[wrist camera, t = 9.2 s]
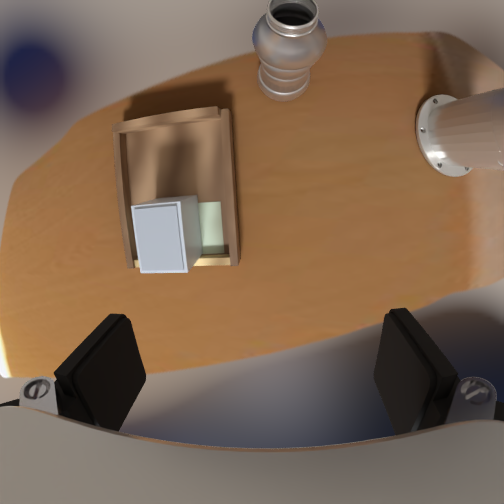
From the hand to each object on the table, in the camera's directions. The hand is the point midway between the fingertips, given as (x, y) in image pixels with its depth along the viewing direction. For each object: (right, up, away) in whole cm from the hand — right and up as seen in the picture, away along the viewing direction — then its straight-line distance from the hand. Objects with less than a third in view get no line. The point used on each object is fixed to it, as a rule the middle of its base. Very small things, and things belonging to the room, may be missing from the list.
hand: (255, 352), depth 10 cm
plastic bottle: (+4, +26, +24) cm, 36 cm away
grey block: (-10, +7, +29) cm, 31 cm away
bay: (-10, +12, +29) cm, 33 cm away
